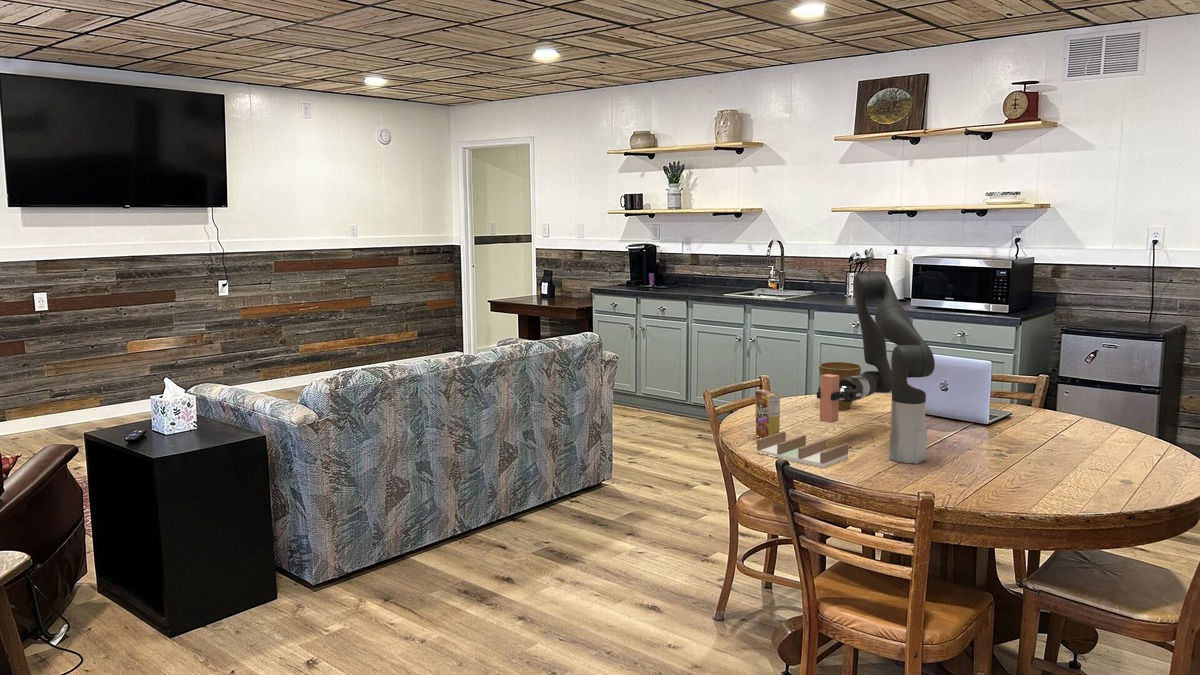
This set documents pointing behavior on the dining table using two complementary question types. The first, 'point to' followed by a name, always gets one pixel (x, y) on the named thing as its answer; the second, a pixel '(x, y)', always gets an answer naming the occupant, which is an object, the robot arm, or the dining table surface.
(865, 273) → the robot arm
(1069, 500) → the dining table surface
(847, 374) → the plant pot
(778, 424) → the candy box
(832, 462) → the comb rack
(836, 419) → the slim block
